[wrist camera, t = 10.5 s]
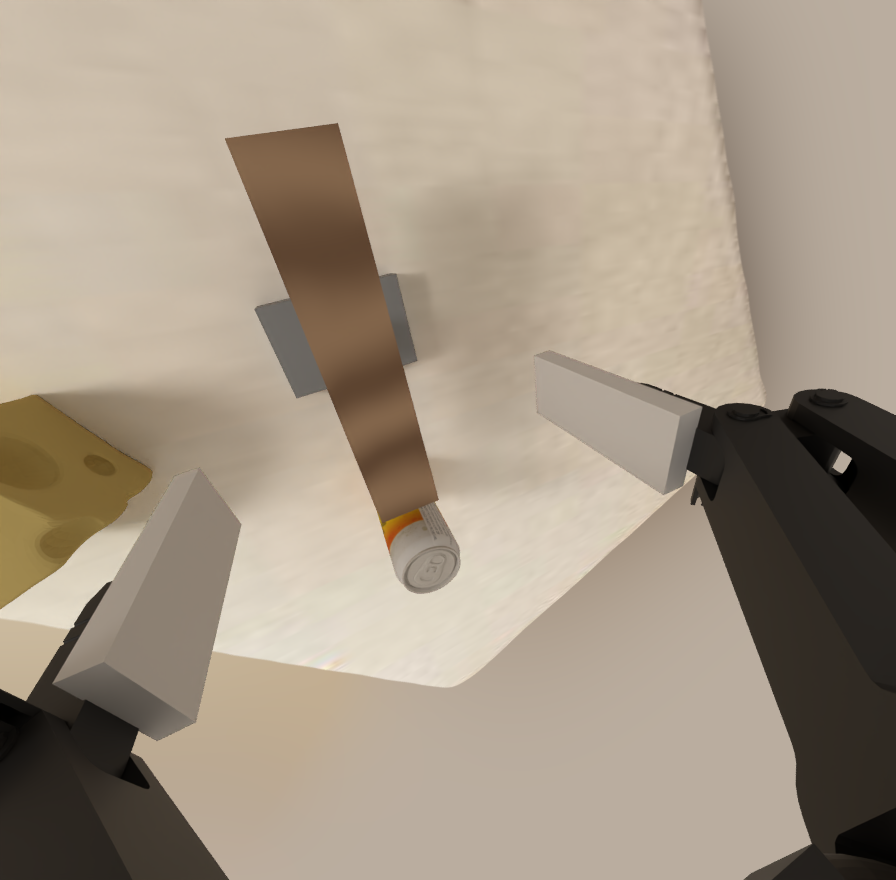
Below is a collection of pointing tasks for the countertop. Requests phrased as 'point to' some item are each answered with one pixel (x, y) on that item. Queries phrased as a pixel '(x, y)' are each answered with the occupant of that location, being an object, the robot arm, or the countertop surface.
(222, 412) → the countertop surface
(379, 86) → the countertop surface
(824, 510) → the robot arm
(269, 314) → the fulcrum
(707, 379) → the countertop surface
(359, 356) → the walnut bar
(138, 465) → the cheese
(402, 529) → the beer can
